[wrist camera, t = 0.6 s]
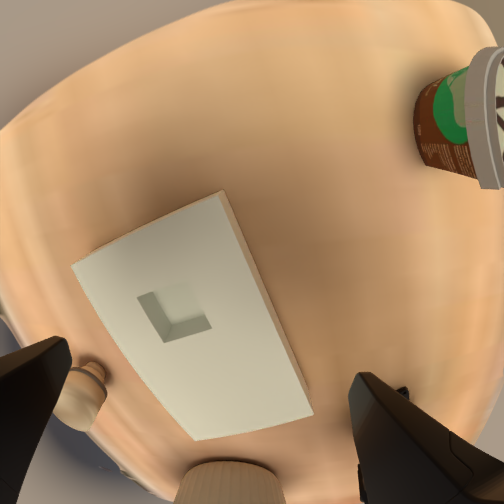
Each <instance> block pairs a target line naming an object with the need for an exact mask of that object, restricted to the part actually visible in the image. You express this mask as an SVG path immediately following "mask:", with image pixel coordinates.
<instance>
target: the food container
mask: <svg viewBox="0 0 504 504" xmlns="http://www.w3.org/2000/svg"><path fill="white" fill-rule="evenodd" d="M413 124H414V134H415V139H416V143H417V147H418V150H419V152H420V155H421V157H422V159H423V161H424V163H425V165H426V166H430V167H434V168H438V169H442V170H446V171H450V172H454V173H457V174H461V175H464V176H468V177H471V178H475V179H478V181H479V184H480V187H481V189H497V190H500V188H501V187H503V188H504V47H486V48H484V49H482V50H480V51H479V52H478V53H477V54H476V55H475V56H474V57H473V59H472V61H471V63H470V65H469V66H468V67H465V68H463V69H461V70H459V71H457V72H454V73H452V74H450V75H448V76H446V77H444V78H442V79H440V80H438V81H435V82H433V83H431V84H430V85H428V86H426V87H425V88H424V89H423V90H422V91H421V93H420V95H419V96H418V99H417V101H416V104H415V108H414V117H413Z"/></svg>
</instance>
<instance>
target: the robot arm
mask: <svg viewBox="0 0 504 504" xmlns="http://www.w3.org/2000/svg"><path fill="white" fill-rule="evenodd" d="M71 365H72V356H71V353H70V350H69V346H68V342H67V340H66V339H65V338H62V337H59V336H53V337H50V338H48V339H45V340H43V341H40V342H38V343H35V344H33V345H30V346H27V347H25V348H22V349H20V350H18V351H15V352H12V353H10V354H7V355H5V356H2V357H0V504H16V502H17V499H18V496H19V493H20V490H21V486H22V484H23V481H24V478H25V476H26V473H27V470H28V467H29V465H30V462H31V460H32V458H33V455H34V452H35V450H36V448H37V445H38V443H39V441H40V438H41V436H42V434H43V431H44V429H45V427H46V425H47V423H48V421H49V418H50V416H51V414H52V412H53V410H54V408H55V406H56V404H57V402H58V399H59V397H60V394H61V391H62V389H63V386H64V383H65V381H66V378H67V376H68V373H69V371H70V368H71ZM348 400H349V407H350V414H351V421H352V429H353V437H354V442H355V446H356V450H357V454H358V458H359V463H360V464H358V479H359V490H360V500H361V502H364V503H365V504H504V462H502V461H500V460H498V459H496V458H494V457H492V456H490V455H489V454H487V453H485V452H483V451H481V450H480V449H478V448H476V447H475V446H473V445H471V444H470V443H468V442H467V441H465V440H463V439H462V438H460V437H459V436H458V435H456V434H455V433H453V432H452V431H449V429H448V428H446V427H445V426H443V425H442V424H441V423H439V422H438V421H436V420H435V419H434V418H432V417H431V416H429V415H428V414H427V413H425V412H424V411H423V410H421V409H420V408H418V407H417V406H416V405H414V404H413V403H412V402H410V401H409V391H408V389H407V388H403V389H401V390H398V391H395V390H394V389H393V388H391V387H390V386H388V385H387V384H386V383H384V382H383V381H382V380H380V379H379V378H378V377H376V376H375V375H374V374H372V373H371V372H359V373H357V374H356V376H355V378H354V380H353V383H352V385H351V388H350V390H349V394H348Z"/></svg>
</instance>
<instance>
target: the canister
mask: <svg viewBox="0 0 504 504" xmlns="http://www.w3.org/2000/svg"><path fill="white" fill-rule="evenodd" d="M173 504H286V501H285V498H284V494H283V490H282V487H281V485H280V482H279V480H278V479H277V478H276V477H275V475H274V474H273V473H271V472H270V471H269V470H267V469H265V468H263V467H259V466H258V465H253V464H248V463H245V462H233V461H217V462H210V463H204V464H200V465H198V466H195V467H193V468H192V469H191V470H189V471H188V472H187V474H186V475H185V476H184V478H183V479H182V482H181V484H180V487H179V489H178V492H177V495H176V497H175V500H174V503H173Z"/></svg>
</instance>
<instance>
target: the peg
mask: <svg viewBox="0 0 504 504" xmlns="http://www.w3.org/2000/svg"><path fill="white" fill-rule="evenodd" d="M105 376H106V372H105V370H104V369H103V367H102V366H101V365H99V364H98V363H96V362H88V363H87V364H86V366H83V367H81V368H79V367H73V368H70V371H69V373H68V376H67V378H66V381H65V383H64V386H63V389H62V391H61V394H60V397H59V399H58V402H57V404H56V406H55V408H54V410H53V413H54V414H55V415H56V416H57V417H58V418H59V419H60V420H61V421H63V422H64V423H65V424H67V425H68V426H70V427H72V428H74V429H77V430H79V431H88V430H90V428H91V426H92V424H93V422H94V420H95V418H96V416H97V414H98V412H99V410H100V408H101V406H102V404H103V403H104V401H105V399H106V398H107V390H106V388H105V386H104V378H105Z"/></svg>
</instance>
